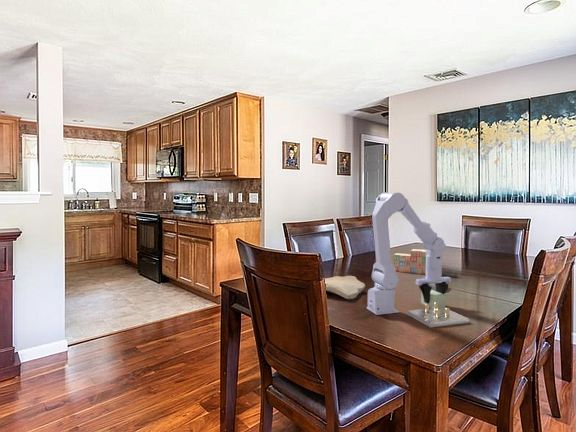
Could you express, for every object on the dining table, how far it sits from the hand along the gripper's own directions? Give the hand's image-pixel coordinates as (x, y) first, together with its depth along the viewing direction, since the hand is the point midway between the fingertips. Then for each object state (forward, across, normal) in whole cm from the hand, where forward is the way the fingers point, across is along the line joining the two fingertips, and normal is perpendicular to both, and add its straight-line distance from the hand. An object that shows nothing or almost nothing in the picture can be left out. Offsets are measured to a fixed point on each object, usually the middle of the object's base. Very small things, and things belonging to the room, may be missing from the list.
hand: (432, 302), depth 145 cm
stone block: (+2, +16, +21) cm, 27 cm away
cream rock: (+2, -29, +29) cm, 41 cm away
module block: (+1, 0, 0) cm, 1 cm away
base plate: (+1, -8, -13) cm, 15 cm away
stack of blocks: (+2, +28, +54) cm, 60 cm away
